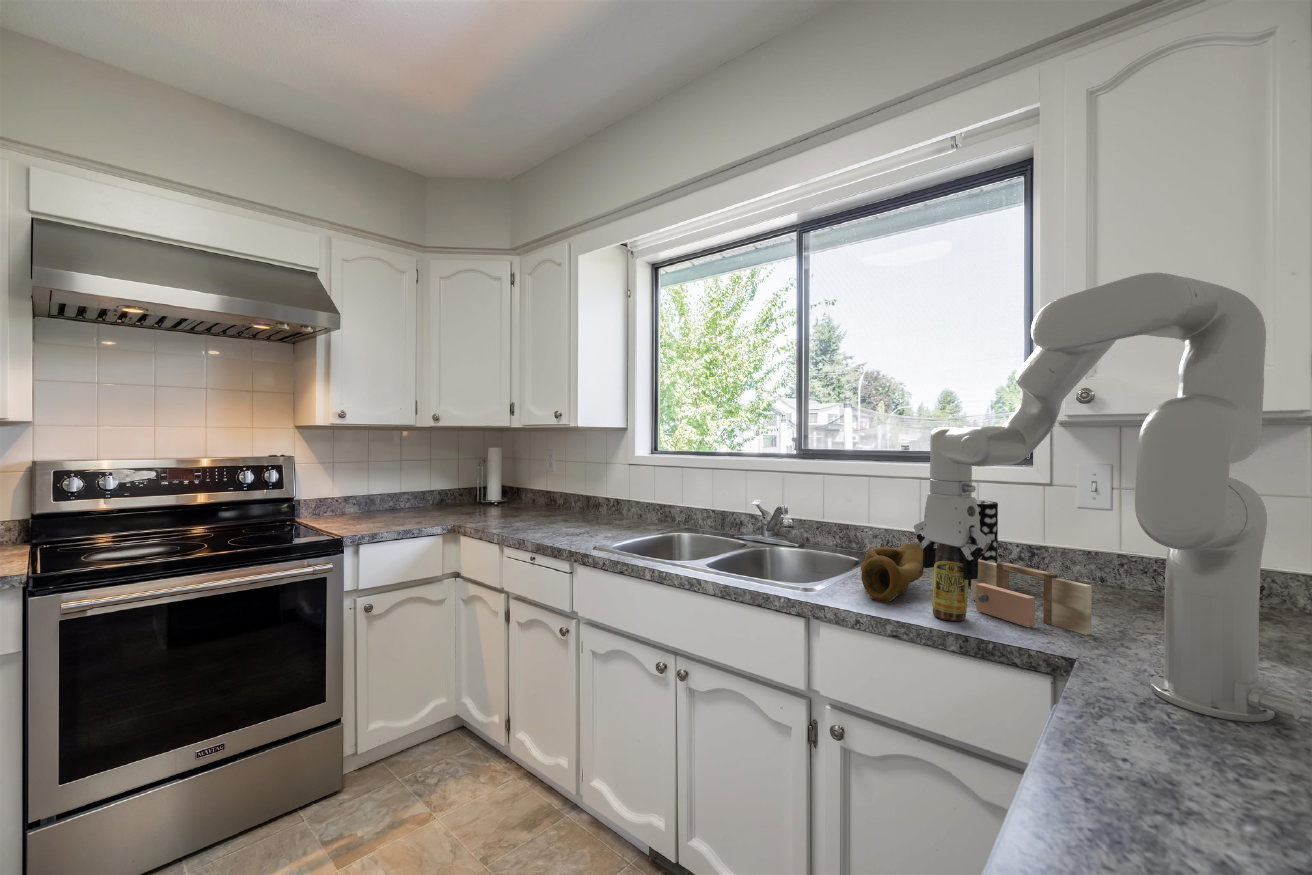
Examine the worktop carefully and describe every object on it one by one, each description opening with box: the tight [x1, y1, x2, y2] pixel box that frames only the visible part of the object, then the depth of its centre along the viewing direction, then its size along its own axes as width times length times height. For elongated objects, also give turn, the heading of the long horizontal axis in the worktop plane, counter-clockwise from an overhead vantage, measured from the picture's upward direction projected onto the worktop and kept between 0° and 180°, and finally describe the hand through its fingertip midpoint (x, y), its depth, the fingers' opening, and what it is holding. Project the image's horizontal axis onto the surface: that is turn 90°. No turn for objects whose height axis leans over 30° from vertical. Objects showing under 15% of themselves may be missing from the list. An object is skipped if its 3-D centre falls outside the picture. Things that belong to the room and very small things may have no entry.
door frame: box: [970, 559, 1093, 636], centre depth 118 cm, size 24×2×10 cm, turn 22°
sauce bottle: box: [931, 543, 969, 622], centre depth 117 cm, size 7×6×20 cm
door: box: [975, 583, 1036, 628], centre depth 115 cm, size 11×3×6 cm, turn 22°
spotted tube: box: [968, 499, 999, 587], centre depth 142 cm, size 8×8×20 cm
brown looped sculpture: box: [860, 541, 925, 603], centre depth 137 cm, size 18×13×22 cm
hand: (949, 572), depth 117 cm, fingers open, 9 cm apart
